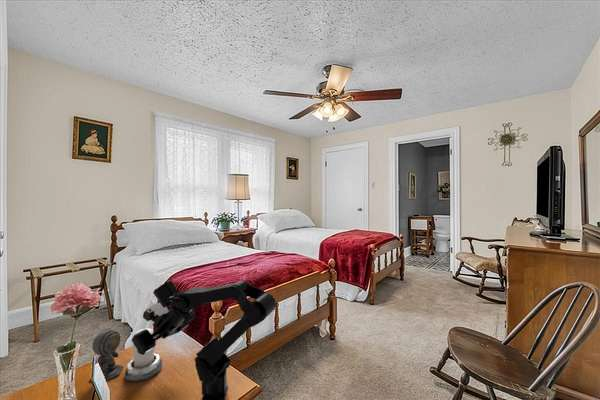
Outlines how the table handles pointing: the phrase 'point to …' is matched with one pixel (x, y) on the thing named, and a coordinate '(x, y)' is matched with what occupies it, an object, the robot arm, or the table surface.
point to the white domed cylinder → (144, 359)
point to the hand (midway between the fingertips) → (150, 344)
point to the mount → (143, 370)
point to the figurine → (107, 353)
